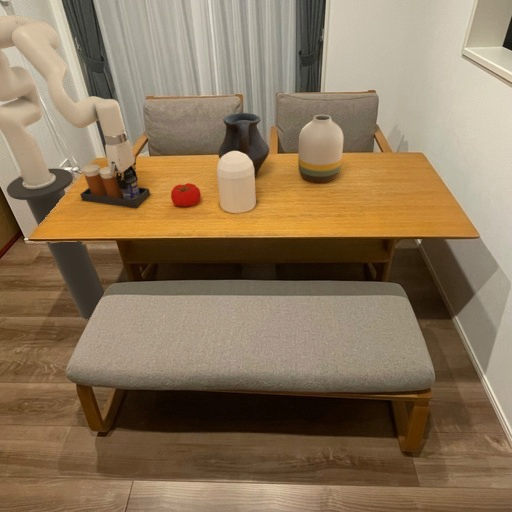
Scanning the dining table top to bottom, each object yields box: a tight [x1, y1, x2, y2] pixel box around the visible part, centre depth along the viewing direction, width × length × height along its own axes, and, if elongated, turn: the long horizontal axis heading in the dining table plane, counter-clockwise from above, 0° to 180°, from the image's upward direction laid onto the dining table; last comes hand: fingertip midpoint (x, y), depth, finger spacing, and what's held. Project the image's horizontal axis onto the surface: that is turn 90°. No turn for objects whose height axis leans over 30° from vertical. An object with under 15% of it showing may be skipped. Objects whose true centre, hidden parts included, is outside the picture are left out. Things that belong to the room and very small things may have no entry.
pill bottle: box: [118, 169, 140, 201], centre depth 145 cm, size 6×6×11 cm
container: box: [216, 151, 257, 214], centre depth 137 cm, size 14×13×20 cm
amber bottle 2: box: [100, 166, 123, 199], centre depth 147 cm, size 6×6×11 cm
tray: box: [79, 186, 151, 209], centre depth 150 cm, size 24×10×3 cm, turn 73°
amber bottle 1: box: [82, 163, 107, 196], centre depth 149 cm, size 6×6×11 cm
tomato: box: [170, 182, 202, 207], centre depth 143 cm, size 10×11×6 cm
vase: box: [297, 114, 344, 183], centre depth 150 cm, size 17×17×24 cm
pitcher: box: [218, 112, 270, 176], centre depth 154 cm, size 21×22×25 cm
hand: (128, 184), depth 144 cm, fingers closed on pill bottle, 6 cm apart
